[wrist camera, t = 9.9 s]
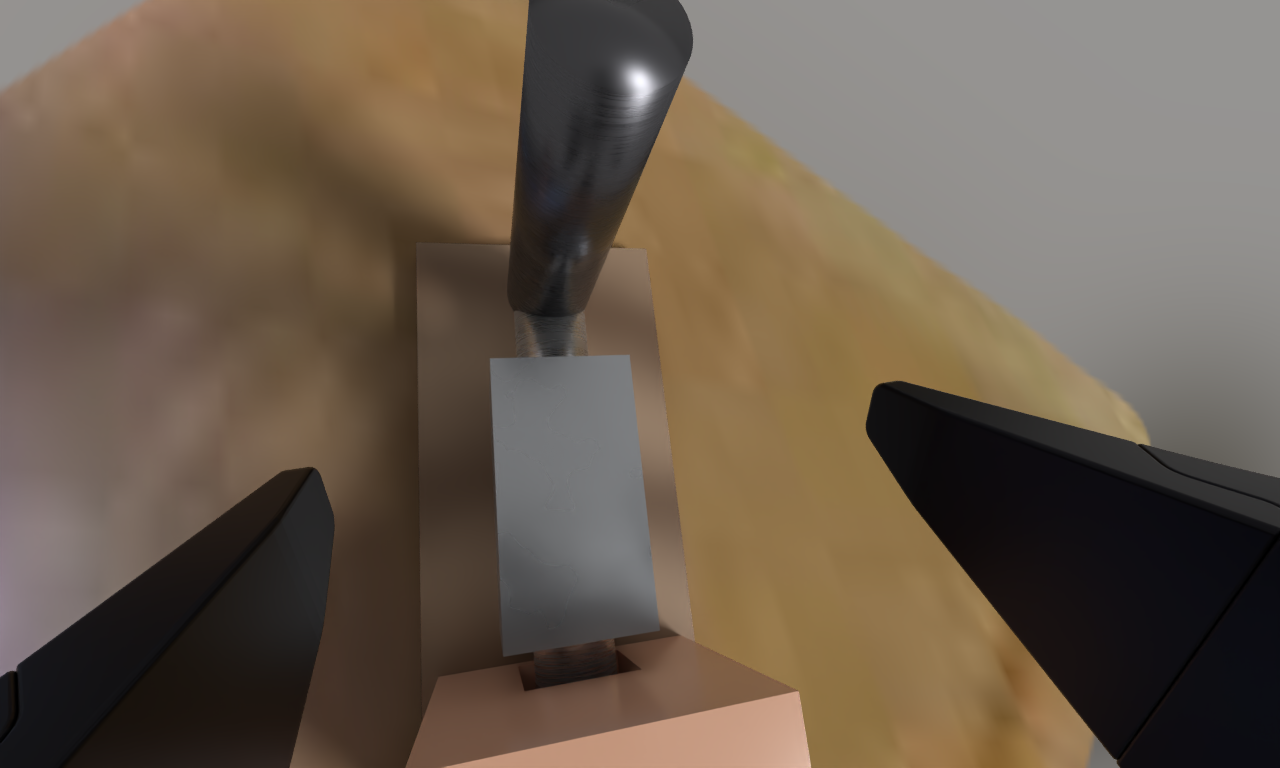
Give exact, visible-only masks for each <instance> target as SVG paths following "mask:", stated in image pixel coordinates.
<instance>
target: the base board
mask: <svg viewBox="0 0 1280 768" xmlns="http://www.w3.org/2000/svg"><path fill="white" fill-rule="evenodd" d="M509 255H510V245H493V244H458V243H423V242H416V270H417V354H418V437H419V521H420V605H421V689H422V721H423V718H424V715H425V713H426V710H427V707H428V704H429V702H430V699H431V696H432V693H433V691H434V688H435V685H436V682H437V680H438V677H441V676H446V675H452V674H458V673H464V672H470V671H475V670H481V669H487V668H493V667H499V666H504V665H510V664H516V663H522V662H528V661H533V660H534V652H529V653H523V654H517V655H511V656H505V657H503V651H502V644H501V637H500V624H499V602H498V579H497V557H496V534H495V512H494V489H493V467H492V444H491V421H490V399H489V381H490V358H517V355H516V338H515V321H514V311H513V310H512V308H511V306H510V304H509V301H508V297H507V281H508V268H509ZM584 313H585V324H586V335H587V346H588V356H602V355H630V363H631V372H632V381H633V390H634V400H635V409H636V418H637V427H638V436H639V445H640V454H641V463H642V472H643V481H644V490H645V499H646V508H647V518H648V527H649V536H650V545H651V554H652V563H653V572H654V581H655V590H656V599H657V608H658V617H659V627H660V631H654V632H648V633H642V634H636V635H630V636H624V637H618V638H614V642H615V646H620V645H626V644H632V643H638V642H644V641H649V640H655V639H661V638H667V637H673V636H678V635H681V636H683V637H685V638H687V639H690V640H692V641H694V642H695V639H694V631H693V623H692V615H691V607H690V599H689V591H688V583H687V574H686V566H685V558H684V550H683V542H682V534H681V526H680V518H679V510H678V502H677V494H676V486H675V478H674V469H673V461H672V453H671V445H670V437H669V429H668V421H667V413H666V405H665V397H664V389H663V381H662V373H661V365H660V356H659V348H658V340H657V332H656V324H655V316H654V308H653V300H652V292H651V284H650V276H649V268H648V260H647V252H646V249H634V248H610V251H609V253H608V255H607V258H606V260H605V263H604V265H603V267H602V270H601V272H600V275H599V277H598V279H597V282H596V284H595V287H594V289H593V291H592V294H591V296H590V299H589V301H588V303H587V306H586V308H585V310H584Z"/></svg>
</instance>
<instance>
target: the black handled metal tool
mask: <svg viewBox="0 0 1280 768" xmlns="http://www.w3.org/2000/svg"><path fill="white" fill-rule="evenodd" d="M692 46H693V36H692V29H691V25H690V22H689V19H688V16H687V14H686V12H685V10H684V8H683V7H682V5H681V4H680V2H679V1H678V0H529V10H528V23H527V36H526V49H525V62H524V74H523V87H522V100H521V113H520V126H519V139H518V152H517V165H516V178H515V191H514V204H513V216H512V229H511V242H510V255H509V268H508V281H507V297H508V301H509V304H510V306H511V308H512V310H513V311H514V321H515V338H516V355H517V358H524V357H563V356H588V346H587V335H586V324H585V313H584V310H585V308H586V306H587V303H588V301H589V299H590V296H591V294H592V291H593V289H594V287H595V284H596V282H597V279H598V277H599V275H600V272H601V270H602V267H603V265H604V263H605V260H606V258H607V255H608V253H609V251H610V248H611V246H612V243H613V241H614V239H615V236H616V234H617V231H618V229H619V227H620V224H621V222H622V219H623V217H624V215H625V212H626V210H627V208H628V205H629V203H630V200H631V198H632V196H633V193H634V191H635V188H636V186H637V184H638V181H639V179H640V176H641V174H642V172H643V169H644V167H645V164H646V162H647V160H648V157H649V155H650V152H651V150H652V148H653V145H654V143H655V140H656V138H657V136H658V133H659V131H660V128H661V126H662V124H663V121H664V119H665V116H666V114H667V112H668V109H669V107H670V104H671V102H672V100H673V97H674V95H675V92H676V90H677V88H678V85H679V83H680V80H681V78H682V76H683V73H684V71H685V68H686V66H687V64H688V61H689V59H690V56H691V52H692ZM534 667H535V684H536V689H540V688H545V687H550V686H556V685H561V684H567V683H572V682H577V681H583V680H588V679H593V678H599V677H604V676H609V675H615V674H617V664H616V653H615V642H614V638H612V639H606V640H601V641H595V642H589V643H583V644H577V645H571V646H565V647H559V648H553V649H547V650H541V651H535V652H534Z"/></svg>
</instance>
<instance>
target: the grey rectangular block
mask: <svg viewBox="0 0 1280 768" xmlns="http://www.w3.org/2000/svg"><path fill="white" fill-rule="evenodd" d="M489 399H490V421H491V444H492V467H493V489H494V512H495V534H496V557H497V579H498V602H499V624H500V637H501V644H502V651H503V657H505V656H511V655H517V654H523V653H529V652H535V651H541V650H547V649H553V648H559V647H565V646H571V645H577V644H583V643H589V642H595V641H601V640H606V639H612V638H618V637H624V636H630V635H636V634H642V633H648V632H654V631H660V627H659V617H658V608H657V599H656V590H655V581H654V572H653V563H652V554H651V545H650V536H649V527H648V518H647V508H646V499H645V490H644V481H643V472H642V463H641V454H640V445H639V436H638V427H637V418H636V409H635V400H634V390H633V381H632V372H631V363H630V355H602V356H563V357H524V358H490V381H489Z"/></svg>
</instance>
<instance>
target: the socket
mask: <svg viewBox="0 0 1280 768" xmlns="http://www.w3.org/2000/svg"><path fill="white" fill-rule="evenodd" d="M615 653H616V664H617V674H615V675H609V676H604V677H599V678H593V679H588V680H583V681H577V682H572V683H567V684H561V685H556V686H550V687H545V688H540V689H536V684H535V667H534V660H533V661H528V662H522V663H516V664H510V665H504V666H499V667H493V668H487V669H481V670H475V671H470V672H464V673H458V674H452V675H446V676H441V677H438V680H437V682H436V685H435V688H434V691H433V693H432V696H431V699H430V702H429V704H428V707H427V710H426V713H425V715H424V718H423V721H422V723H421V726H420V729H419V732H418V734H417V737H416V740H415V743H414V745H413V748H412V751H411V754H410V756H409V759H408V762H407V764H406V767H405V768H811V763H810V757H809V751H808V745H807V739H806V732H805V726H804V720H803V714H802V708H801V702H800V696H799V691H798V690H796V689H793V688H791V687H789V686H787V685H785V684H783V683H781V682H779V681H777V680H774V679H772V678H770V677H768V676H766V675H764V674H762V673H760V672H757V671H755V670H753V669H751V668H749V667H747V666H745V665H743V664H740V663H738V662H736V661H734V660H732V659H730V658H728V657H726V656H724V655H721V654H719V653H717V652H715V651H713V650H711V649H709V648H707V647H704V646H702V645H700V644H698V643H696V642H694V641H692V640H690V639H687V638H685V637H683V636H681V635H678V636H673V637H667V638H661V639H655V640H649V641H644V642H638V643H632V644H626V645H620V646H615Z"/></svg>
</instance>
